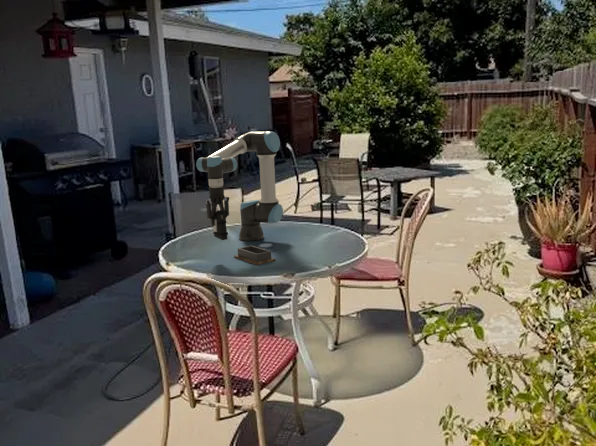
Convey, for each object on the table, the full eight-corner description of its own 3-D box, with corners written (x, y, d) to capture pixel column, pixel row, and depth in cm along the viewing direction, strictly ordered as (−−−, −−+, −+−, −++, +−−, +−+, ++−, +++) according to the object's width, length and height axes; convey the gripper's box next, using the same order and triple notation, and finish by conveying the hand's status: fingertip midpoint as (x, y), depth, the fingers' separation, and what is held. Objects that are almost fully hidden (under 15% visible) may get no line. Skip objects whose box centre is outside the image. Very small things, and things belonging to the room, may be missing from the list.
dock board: (252, 253, 306) (252, 251, 306) (275, 260, 290) (275, 258, 290) (234, 257, 299) (234, 255, 298) (256, 265, 283) (256, 263, 282)
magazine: (224, 238, 283) (217, 210, 285) (215, 244, 294) (208, 217, 296) (230, 237, 284) (223, 209, 287) (222, 243, 296) (215, 216, 298)
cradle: (251, 252, 304) (251, 245, 303) (271, 258, 290) (271, 251, 289) (237, 255, 298) (237, 248, 297) (257, 262, 284) (256, 254, 284)
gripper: (205, 189, 278) (208, 234, 283) (234, 185, 288) (237, 228, 294) (197, 187, 284) (201, 232, 289) (226, 183, 294) (229, 226, 299)
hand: (219, 230), depth 291 cm, fingers closed on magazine, 4 cm apart
